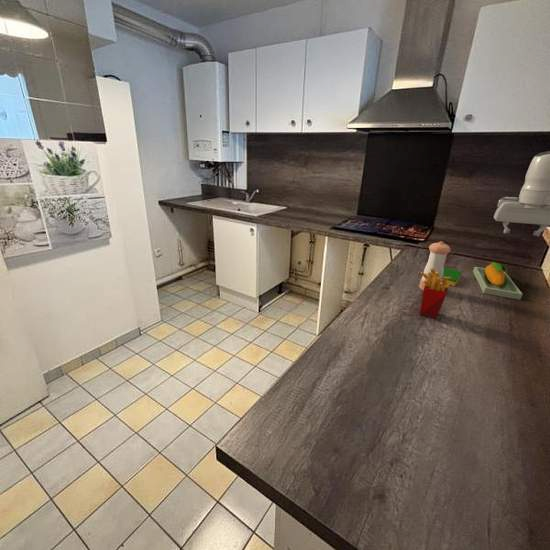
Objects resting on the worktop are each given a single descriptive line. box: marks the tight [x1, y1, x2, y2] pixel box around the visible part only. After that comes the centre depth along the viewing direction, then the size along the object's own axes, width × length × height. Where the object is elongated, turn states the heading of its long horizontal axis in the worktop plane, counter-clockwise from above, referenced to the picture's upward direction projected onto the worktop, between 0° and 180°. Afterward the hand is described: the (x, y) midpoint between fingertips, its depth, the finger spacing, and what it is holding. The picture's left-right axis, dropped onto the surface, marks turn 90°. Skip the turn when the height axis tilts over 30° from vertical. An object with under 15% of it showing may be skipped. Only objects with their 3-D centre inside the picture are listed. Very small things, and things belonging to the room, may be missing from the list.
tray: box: [472, 266, 523, 300], centre depth 119 cm, size 25×12×2 cm, turn 156°
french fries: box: [419, 268, 451, 320], centre depth 93 cm, size 9×8×15 cm
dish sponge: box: [441, 267, 463, 287], centre depth 123 cm, size 7×14×2 cm, turn 141°
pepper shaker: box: [418, 241, 451, 291], centre depth 110 cm, size 7×7×19 cm
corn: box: [484, 261, 508, 288], centre depth 118 cm, size 7×8×20 cm
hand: (520, 234), depth 113 cm, fingers open, 8 cm apart
